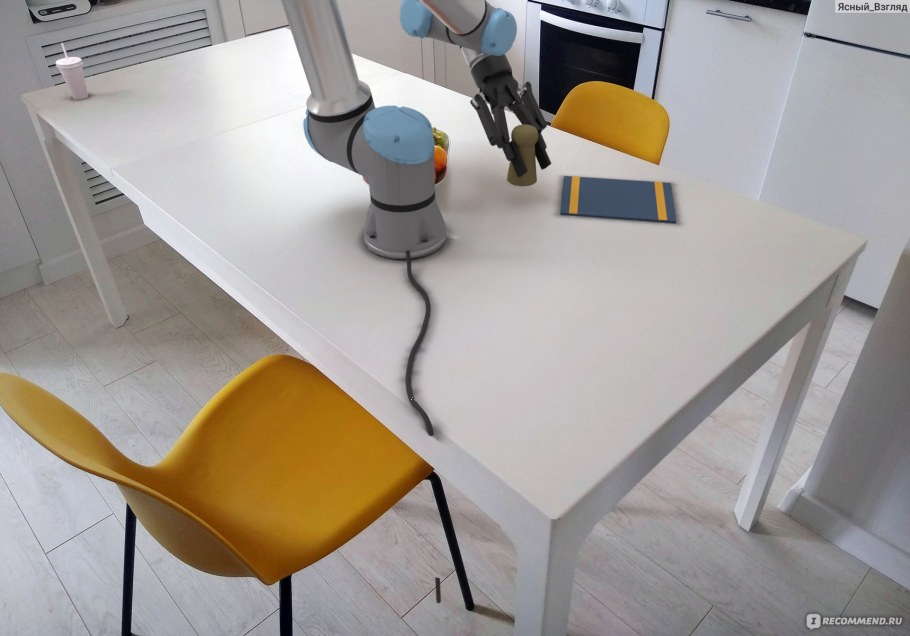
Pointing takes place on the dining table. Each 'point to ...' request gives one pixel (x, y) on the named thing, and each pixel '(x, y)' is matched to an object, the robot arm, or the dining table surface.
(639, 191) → the towel
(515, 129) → the cork
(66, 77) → the smoothie
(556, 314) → the dining table surface
